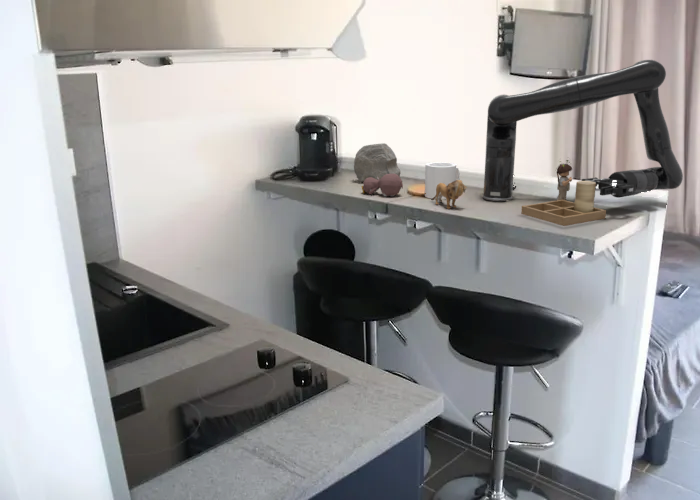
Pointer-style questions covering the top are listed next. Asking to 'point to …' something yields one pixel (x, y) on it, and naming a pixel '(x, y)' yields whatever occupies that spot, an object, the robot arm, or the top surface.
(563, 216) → the wooden compartment tray
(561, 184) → the toy
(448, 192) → the lion figurine
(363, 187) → the toy
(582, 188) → the peg
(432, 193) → the mug
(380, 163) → the stone
